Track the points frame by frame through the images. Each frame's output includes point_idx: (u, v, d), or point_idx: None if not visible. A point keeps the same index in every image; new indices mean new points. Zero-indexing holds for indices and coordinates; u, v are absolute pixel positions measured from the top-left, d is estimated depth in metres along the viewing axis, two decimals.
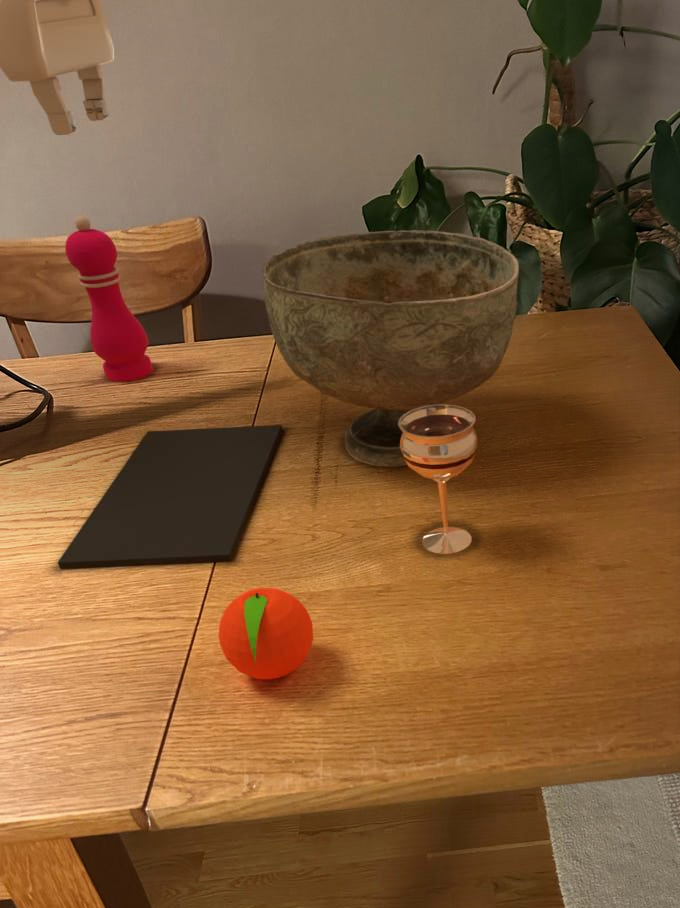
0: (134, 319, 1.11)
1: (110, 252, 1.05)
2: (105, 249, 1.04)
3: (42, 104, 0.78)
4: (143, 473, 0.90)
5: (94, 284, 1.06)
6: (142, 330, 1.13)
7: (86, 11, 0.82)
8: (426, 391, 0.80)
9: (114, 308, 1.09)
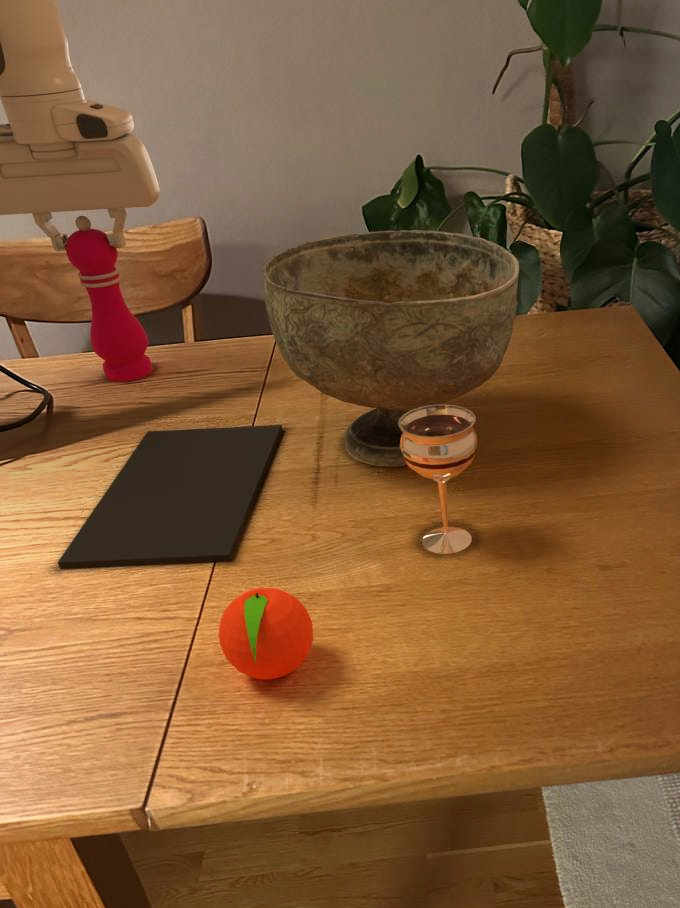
0: (134, 319, 1.11)
1: (110, 252, 1.05)
2: (105, 249, 1.04)
3: (120, 225, 1.03)
4: (143, 473, 0.90)
5: (94, 284, 1.06)
6: (142, 330, 1.13)
7: None
8: (426, 391, 0.80)
9: (114, 308, 1.09)
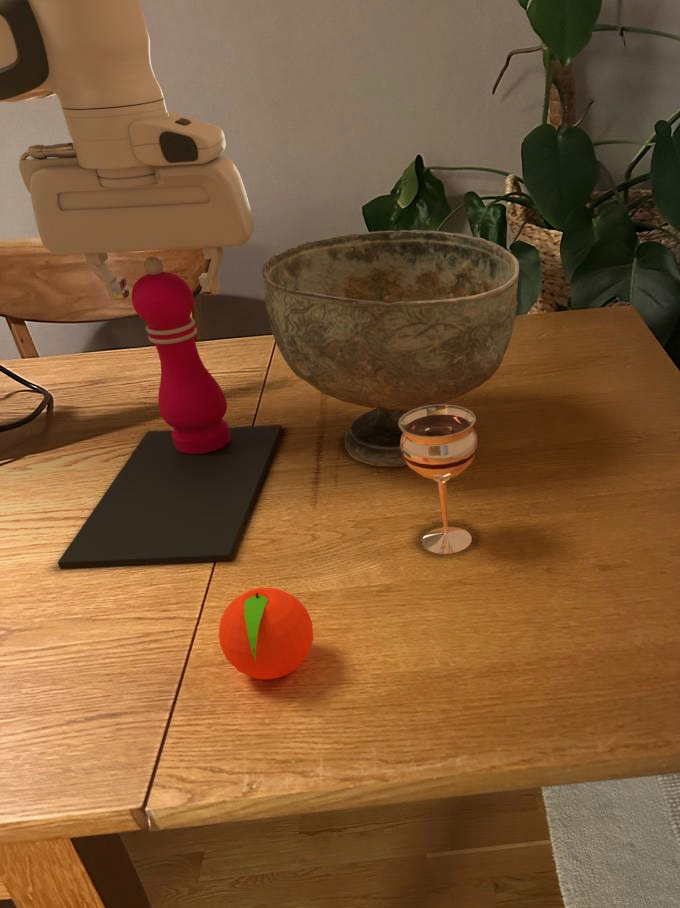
0: (212, 379, 0.91)
1: (187, 300, 0.85)
2: (181, 297, 0.84)
3: (216, 268, 0.83)
4: (143, 473, 0.90)
5: (167, 340, 0.86)
6: (221, 392, 0.92)
7: None
8: (426, 391, 0.80)
9: (189, 367, 0.89)
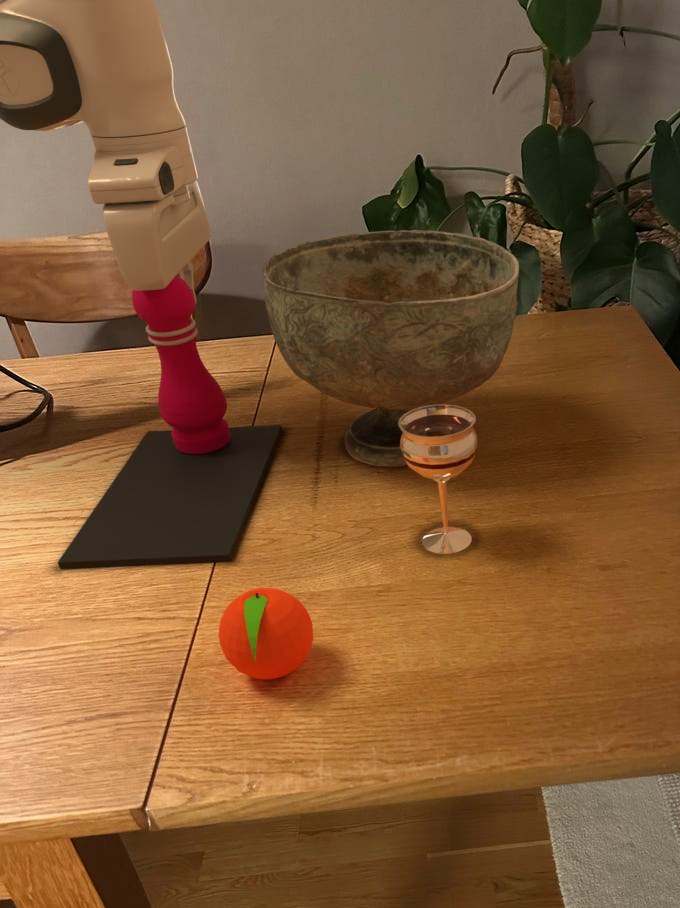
0: (212, 379, 0.91)
1: (188, 302, 0.84)
2: (182, 299, 0.84)
3: None
4: (143, 473, 0.90)
5: (167, 341, 0.85)
6: (221, 392, 0.92)
7: (190, 205, 0.89)
8: (426, 391, 0.80)
9: (190, 369, 0.88)
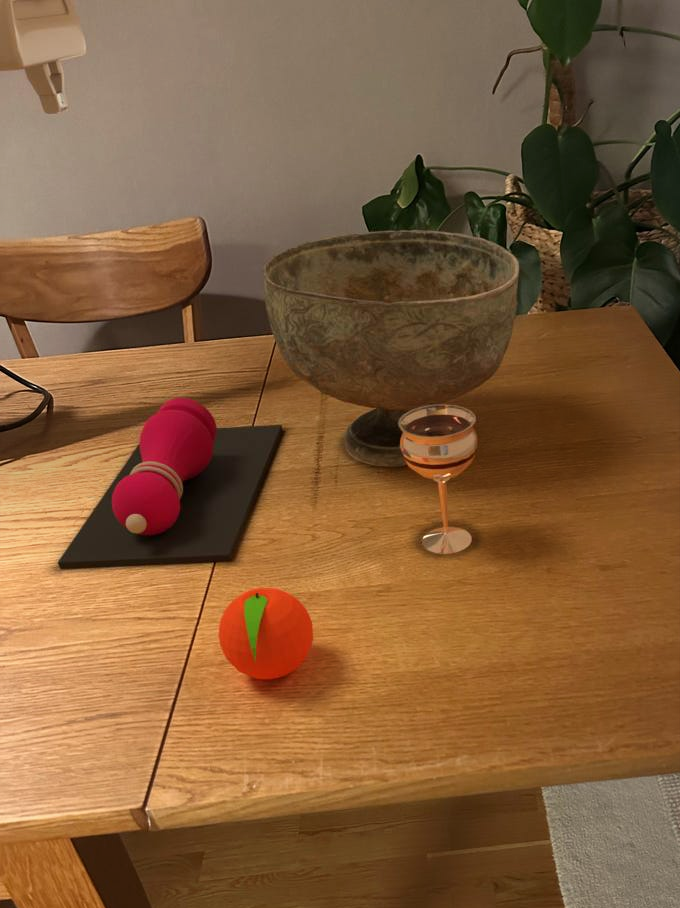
0: (197, 455, 0.85)
1: (178, 513, 0.79)
2: (175, 520, 0.79)
3: (35, 87, 0.92)
4: None
5: None
6: (206, 446, 0.86)
7: (59, 10, 0.93)
8: (426, 391, 0.80)
9: None
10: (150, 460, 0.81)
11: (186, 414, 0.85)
